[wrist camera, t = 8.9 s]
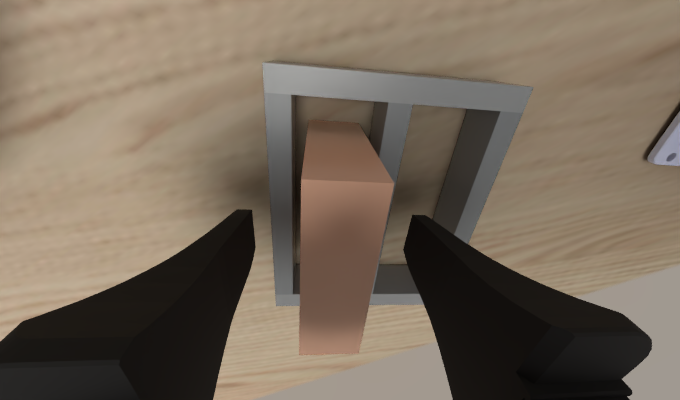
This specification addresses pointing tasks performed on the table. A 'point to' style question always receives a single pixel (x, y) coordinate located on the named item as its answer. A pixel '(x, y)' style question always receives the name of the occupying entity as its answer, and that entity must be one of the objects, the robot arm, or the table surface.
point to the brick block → (339, 235)
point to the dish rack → (387, 152)
